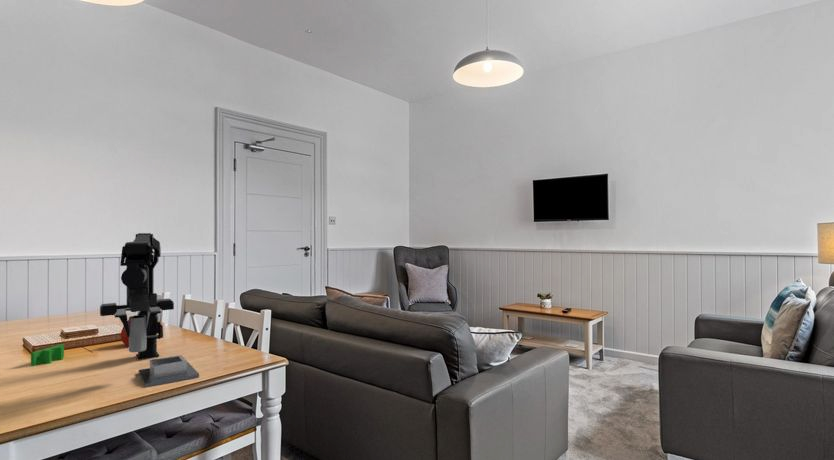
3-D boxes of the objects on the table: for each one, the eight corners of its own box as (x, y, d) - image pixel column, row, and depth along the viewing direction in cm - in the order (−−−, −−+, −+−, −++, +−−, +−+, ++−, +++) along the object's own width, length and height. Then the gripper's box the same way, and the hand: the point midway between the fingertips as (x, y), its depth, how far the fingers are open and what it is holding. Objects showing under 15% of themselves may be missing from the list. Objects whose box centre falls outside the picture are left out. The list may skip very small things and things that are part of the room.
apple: (149, 344, 179) (149, 316, 179) (127, 348, 172) (127, 320, 172) (138, 341, 183) (138, 314, 183) (116, 345, 176) (116, 318, 176)
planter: (127, 353, 135) (127, 318, 135) (129, 349, 139) (129, 315, 139) (145, 351, 137) (145, 317, 137) (147, 347, 141) (147, 314, 141)
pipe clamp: (40, 367, 150) (40, 353, 150) (30, 366, 151) (30, 352, 150) (70, 357, 161) (70, 344, 161) (61, 356, 162) (61, 343, 162)
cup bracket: (138, 373, 142) (138, 358, 142) (187, 364, 151) (187, 351, 151) (145, 387, 130) (145, 371, 130) (199, 377, 138) (199, 362, 138)
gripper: (100, 289, 126) (101, 345, 126) (176, 284, 137) (176, 336, 137) (99, 285, 135) (99, 337, 135) (170, 280, 146) (171, 329, 146)
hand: (137, 335), depth 138 cm, fingers closed on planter, 4 cm apart
